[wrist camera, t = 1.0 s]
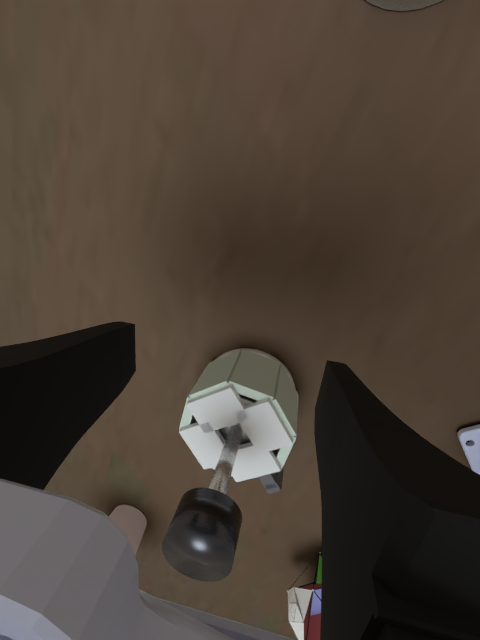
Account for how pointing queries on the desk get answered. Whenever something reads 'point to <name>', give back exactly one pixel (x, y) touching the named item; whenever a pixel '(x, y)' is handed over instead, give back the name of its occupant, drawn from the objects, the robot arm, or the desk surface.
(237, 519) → the plunger
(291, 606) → the geometric puzzle
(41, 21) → the desk surface
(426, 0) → the thermos bottle
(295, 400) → the faceted mint canister
